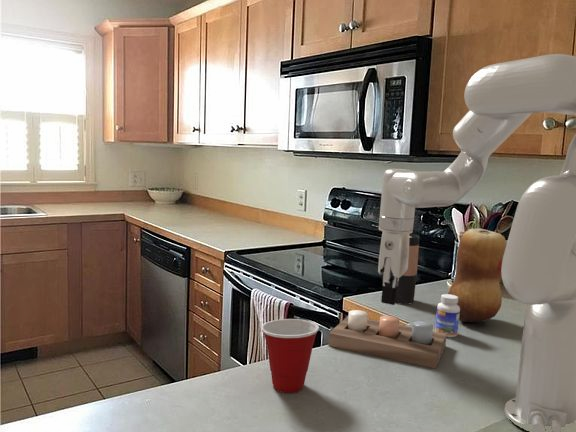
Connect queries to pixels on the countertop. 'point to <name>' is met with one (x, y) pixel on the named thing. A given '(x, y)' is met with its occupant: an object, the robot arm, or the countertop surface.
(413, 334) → the slate button
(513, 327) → the countertop surface
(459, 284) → the butternut squash
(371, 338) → the walnut panel
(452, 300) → the pill bottle
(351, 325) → the cream button
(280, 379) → the plastic cup
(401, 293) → the travel mug
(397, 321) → the terracotta button
